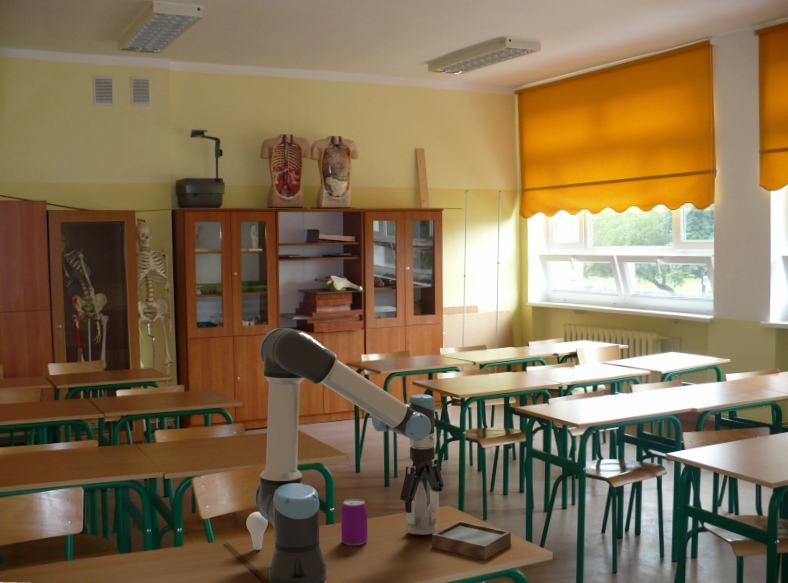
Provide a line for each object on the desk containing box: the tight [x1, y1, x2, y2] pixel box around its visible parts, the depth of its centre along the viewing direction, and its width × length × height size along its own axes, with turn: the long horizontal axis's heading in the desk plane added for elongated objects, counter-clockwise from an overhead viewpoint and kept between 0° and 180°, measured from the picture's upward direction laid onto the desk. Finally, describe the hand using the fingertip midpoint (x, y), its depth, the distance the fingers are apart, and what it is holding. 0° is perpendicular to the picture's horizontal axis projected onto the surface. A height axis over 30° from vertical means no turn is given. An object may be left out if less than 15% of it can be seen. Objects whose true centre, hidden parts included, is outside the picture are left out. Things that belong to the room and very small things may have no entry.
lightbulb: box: [245, 511, 269, 551], centre depth 228 cm, size 6×6×11 cm
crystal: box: [404, 480, 439, 536], centre depth 238 cm, size 10×13×15 cm
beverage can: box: [340, 498, 369, 547], centre depth 233 cm, size 8×8×12 cm
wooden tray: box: [431, 520, 512, 561], centre depth 229 cm, size 18×15×4 cm
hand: (422, 517), depth 239 cm, fingers closed on crystal, 12 cm apart
